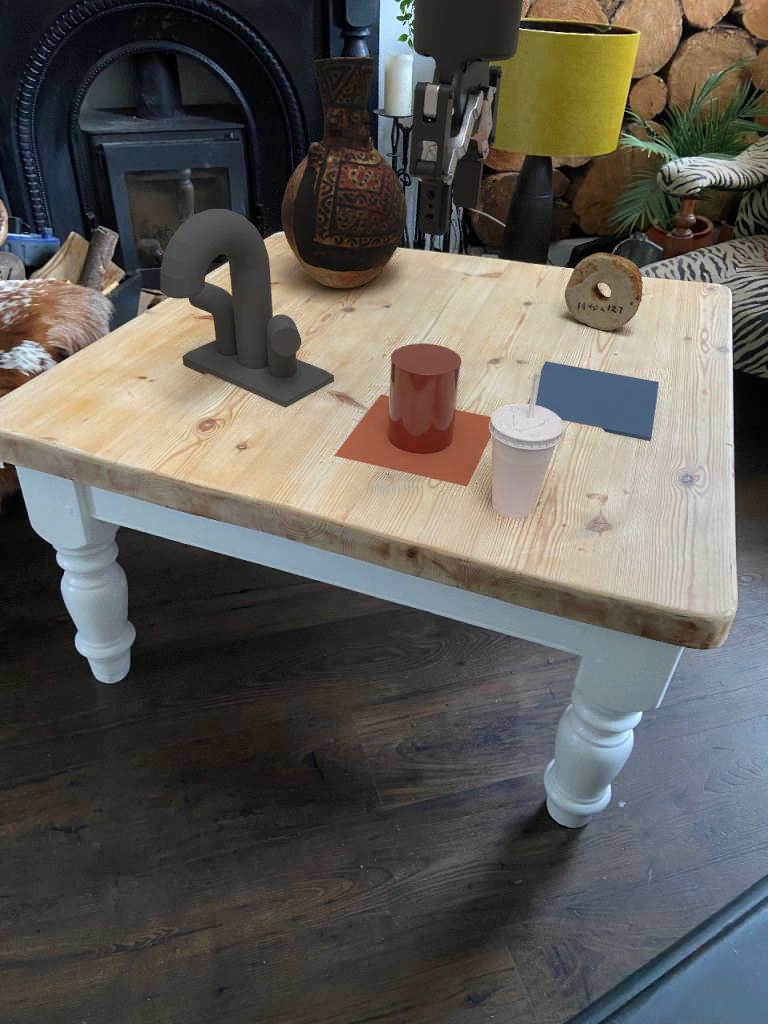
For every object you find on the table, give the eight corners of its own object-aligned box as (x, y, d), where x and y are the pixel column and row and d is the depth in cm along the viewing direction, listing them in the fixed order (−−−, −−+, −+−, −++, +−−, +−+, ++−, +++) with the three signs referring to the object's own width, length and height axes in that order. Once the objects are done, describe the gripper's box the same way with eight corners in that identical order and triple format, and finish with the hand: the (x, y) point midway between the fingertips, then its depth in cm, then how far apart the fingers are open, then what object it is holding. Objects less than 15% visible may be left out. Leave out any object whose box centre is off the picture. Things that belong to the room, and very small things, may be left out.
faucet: (130, 385, 87) (95, 206, 74) (230, 341, 97) (213, 177, 84) (239, 438, 78) (220, 246, 66) (336, 384, 88) (335, 210, 76)
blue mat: (544, 363, 95) (545, 361, 94) (658, 384, 91) (658, 381, 91) (523, 415, 84) (523, 411, 84) (650, 440, 81) (651, 437, 80)
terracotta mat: (380, 397, 86) (380, 394, 86) (498, 421, 83) (499, 418, 83) (334, 458, 76) (333, 455, 75) (466, 489, 72) (467, 486, 72)
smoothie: (556, 504, 71) (585, 371, 62) (529, 540, 66) (556, 401, 58) (495, 482, 73) (515, 351, 65) (465, 514, 69) (483, 379, 60)
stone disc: (637, 330, 104) (655, 259, 98) (627, 339, 102) (645, 266, 95) (568, 311, 109) (582, 242, 103) (557, 319, 106) (570, 249, 100)
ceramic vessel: (354, 314, 105) (356, 69, 87) (257, 287, 112) (240, 55, 94) (426, 272, 119) (441, 55, 101) (337, 250, 126) (335, 43, 108)
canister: (438, 415, 83) (445, 340, 77) (463, 448, 77) (472, 370, 72) (378, 424, 81) (381, 347, 75) (400, 458, 75) (404, 378, 70)
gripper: (496, -19, 45) (468, 252, 55) (546, -23, 55) (515, 204, 65) (381, -26, 47) (374, 236, 57) (451, -28, 57) (435, 193, 67)
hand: (450, 219), depth 61 cm, fingers open, 8 cm apart
